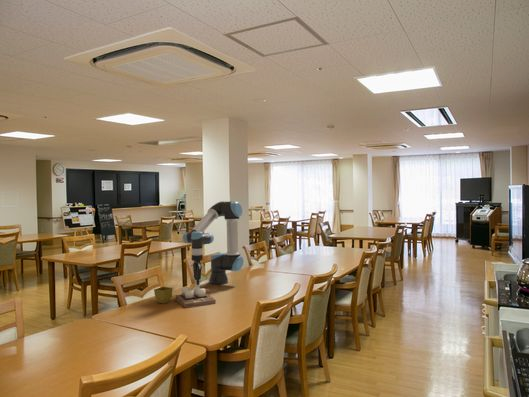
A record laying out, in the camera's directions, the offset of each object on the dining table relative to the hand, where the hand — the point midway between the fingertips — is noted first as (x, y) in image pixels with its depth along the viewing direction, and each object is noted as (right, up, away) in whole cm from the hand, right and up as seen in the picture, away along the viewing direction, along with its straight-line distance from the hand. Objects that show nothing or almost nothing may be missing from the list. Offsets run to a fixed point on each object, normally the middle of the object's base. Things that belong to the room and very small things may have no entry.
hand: (197, 289), depth 267 cm
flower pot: (-20, -6, -10) cm, 24 cm away
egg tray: (0, -6, -8) cm, 10 cm away
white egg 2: (0, -5, 0) cm, 5 cm away
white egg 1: (-7, -3, -4) cm, 8 cm away
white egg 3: (+4, -3, -7) cm, 8 cm away
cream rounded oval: (-3, -3, -11) cm, 11 cm away
